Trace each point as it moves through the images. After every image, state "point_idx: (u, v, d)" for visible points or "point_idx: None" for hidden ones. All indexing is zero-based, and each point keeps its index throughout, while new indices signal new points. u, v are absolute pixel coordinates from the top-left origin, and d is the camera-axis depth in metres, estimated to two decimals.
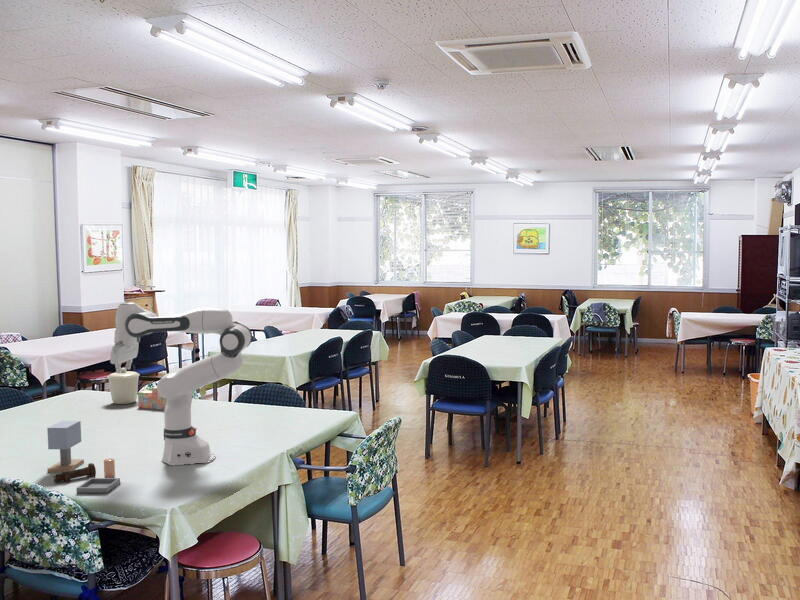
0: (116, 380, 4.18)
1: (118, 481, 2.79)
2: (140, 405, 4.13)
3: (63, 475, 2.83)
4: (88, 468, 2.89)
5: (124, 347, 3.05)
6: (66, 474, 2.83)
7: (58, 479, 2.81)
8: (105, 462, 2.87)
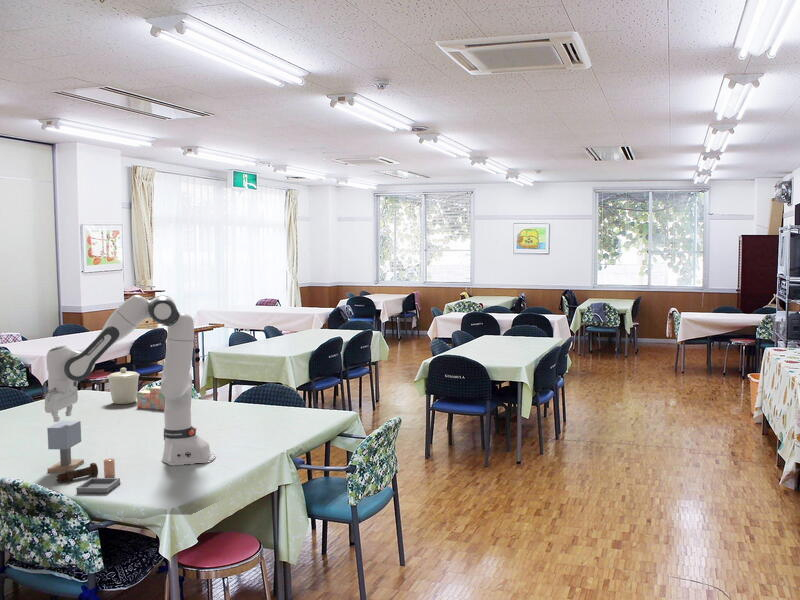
0: (116, 380, 4.18)
1: (118, 481, 2.79)
2: (139, 405, 4.13)
3: (66, 475, 2.83)
4: (90, 468, 2.89)
5: (59, 394, 2.91)
6: (69, 474, 2.83)
7: (61, 479, 2.81)
8: (105, 462, 2.87)
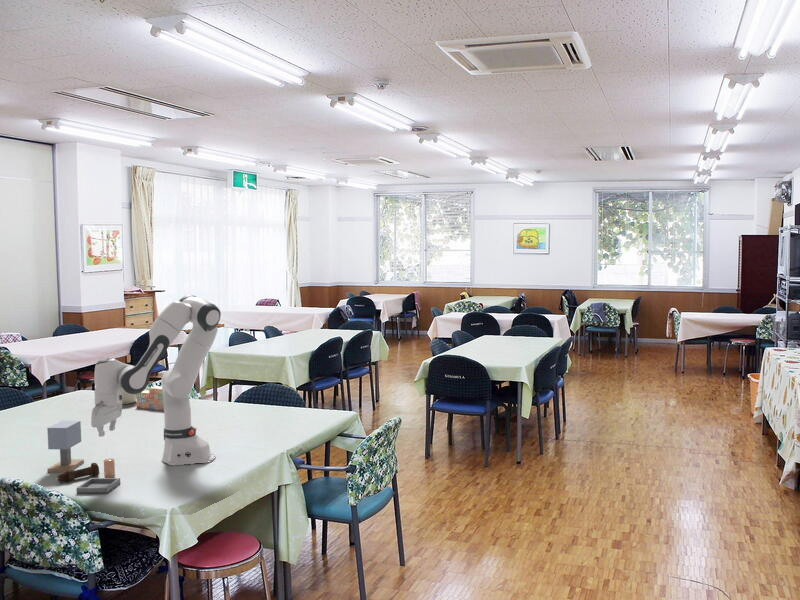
0: None
1: (118, 481, 2.79)
2: (138, 405, 4.14)
3: (67, 475, 2.83)
4: (91, 467, 2.90)
5: (105, 408, 2.82)
6: (70, 474, 2.83)
7: (62, 479, 2.81)
8: (105, 462, 2.87)
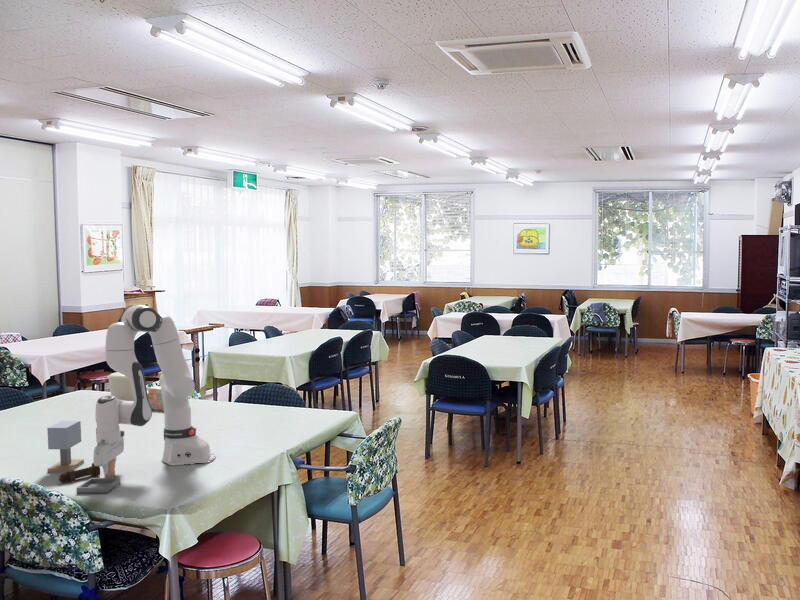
0: (116, 380, 4.18)
1: (118, 481, 2.79)
2: None
3: (68, 475, 2.83)
4: (92, 467, 2.90)
5: (107, 446, 2.84)
6: (71, 474, 2.83)
7: (63, 479, 2.81)
8: None
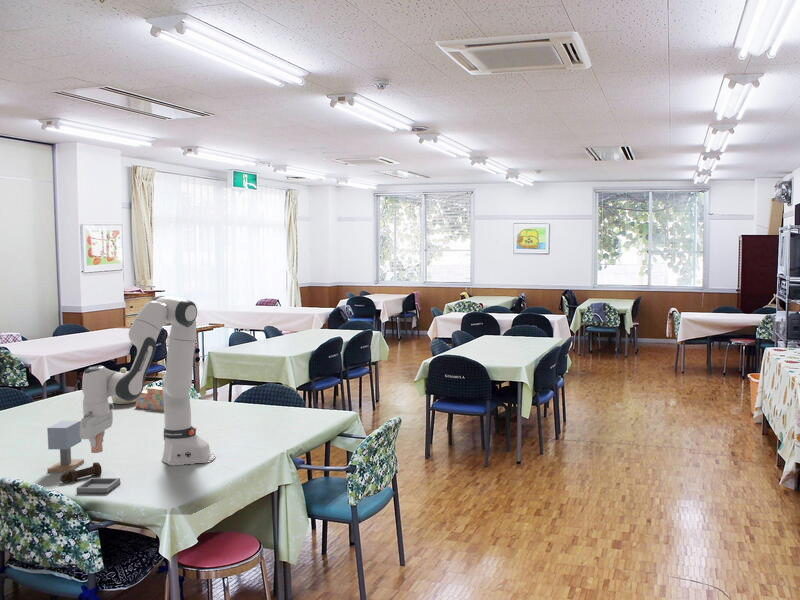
0: None
1: (118, 481, 2.79)
2: (137, 405, 4.14)
3: (70, 475, 2.83)
4: (94, 467, 2.90)
5: (95, 418, 2.69)
6: (73, 474, 2.83)
7: (65, 479, 2.82)
8: None
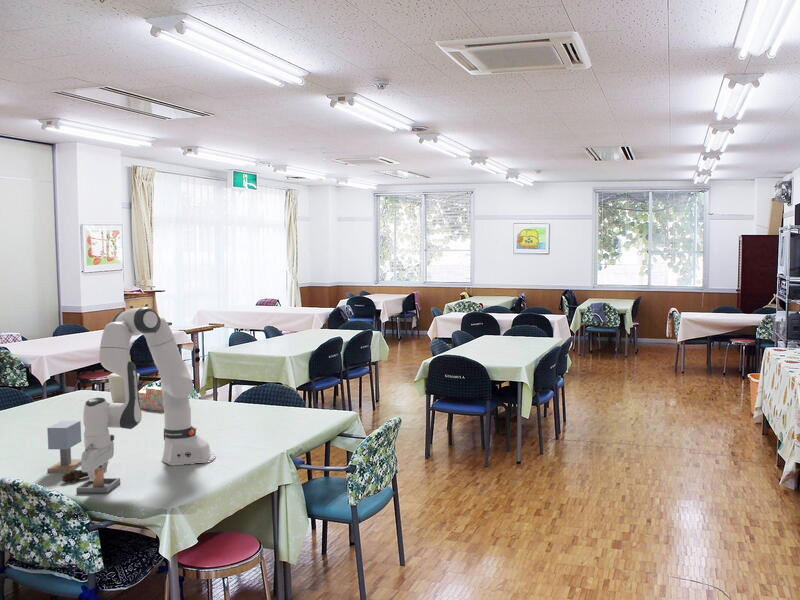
0: (116, 380, 4.18)
1: (118, 481, 2.79)
2: None
3: (72, 475, 2.83)
4: None
5: (96, 451, 2.69)
6: (75, 474, 2.83)
7: (67, 479, 2.82)
8: None
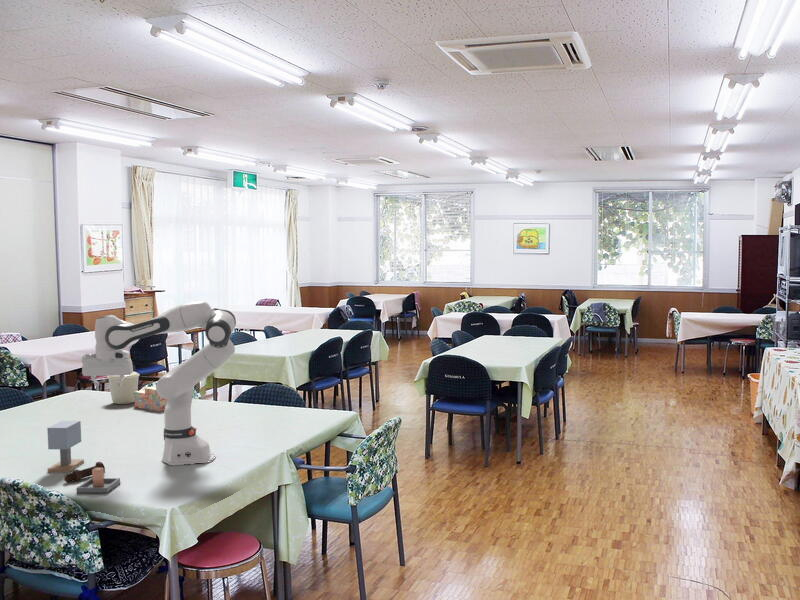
0: (116, 380, 4.18)
1: (118, 481, 2.79)
2: (136, 404, 4.15)
3: (74, 475, 2.83)
4: (97, 467, 2.91)
5: (94, 360, 3.01)
6: (77, 473, 2.84)
7: (70, 479, 2.82)
8: (93, 471, 2.73)
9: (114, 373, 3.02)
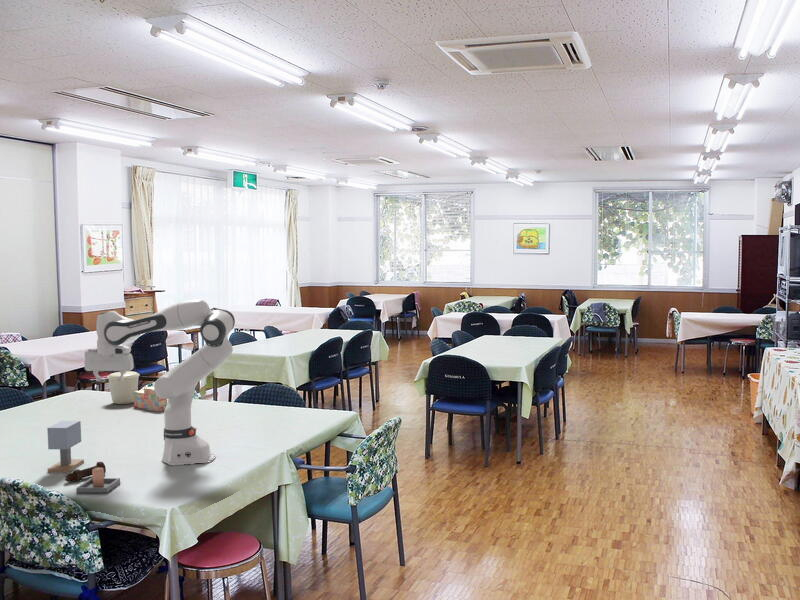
0: (116, 380, 4.18)
1: (118, 481, 2.79)
2: (135, 404, 4.15)
3: (75, 474, 2.83)
4: (98, 466, 2.91)
5: (96, 355, 3.05)
6: (78, 473, 2.84)
7: (70, 478, 2.82)
8: (93, 471, 2.73)
9: (114, 368, 3.06)
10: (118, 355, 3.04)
